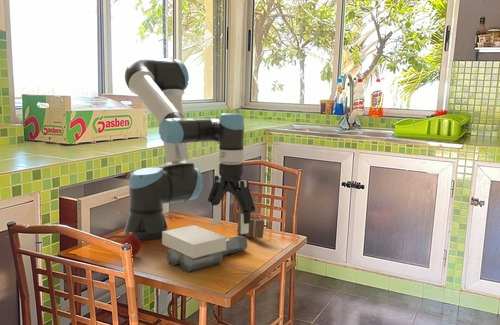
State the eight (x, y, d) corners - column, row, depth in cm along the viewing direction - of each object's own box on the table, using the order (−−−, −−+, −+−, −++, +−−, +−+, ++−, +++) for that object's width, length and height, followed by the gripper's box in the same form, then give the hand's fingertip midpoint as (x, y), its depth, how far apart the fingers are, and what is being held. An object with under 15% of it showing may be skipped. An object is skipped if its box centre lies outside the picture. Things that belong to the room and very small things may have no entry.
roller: (209, 256, 153) (208, 241, 153) (237, 249, 161) (236, 234, 161) (219, 259, 149) (218, 243, 149) (247, 251, 157) (246, 236, 157)
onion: (133, 252, 153) (133, 228, 152) (144, 257, 150) (144, 232, 149) (117, 257, 149) (117, 232, 148) (129, 261, 145) (129, 236, 144)
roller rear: (165, 258, 146) (169, 245, 144) (197, 250, 154) (201, 238, 152) (173, 268, 143) (177, 256, 141) (205, 260, 151) (210, 248, 149)
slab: (162, 244, 147) (162, 231, 146) (194, 237, 155) (194, 225, 154) (193, 258, 135) (193, 244, 135) (226, 249, 143) (226, 236, 143)
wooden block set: (267, 243, 168) (270, 214, 167) (243, 242, 166) (246, 212, 165) (255, 229, 185) (258, 203, 184) (233, 228, 183) (236, 201, 182)
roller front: (179, 269, 141) (180, 253, 140) (212, 260, 149) (212, 245, 148) (189, 274, 137) (190, 257, 136) (222, 265, 145) (222, 249, 144)
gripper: (197, 159, 157) (197, 222, 160) (249, 168, 139) (248, 239, 142) (215, 157, 163) (215, 219, 165) (267, 166, 144) (266, 235, 147)
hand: (230, 228), depth 154 cm, fingers open, 13 cm apart
